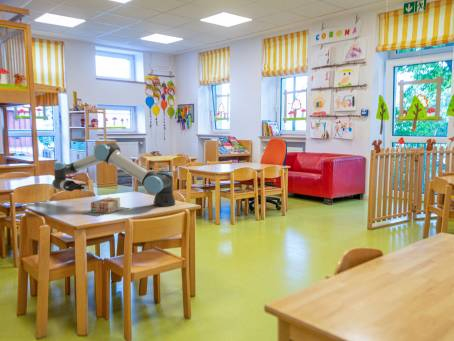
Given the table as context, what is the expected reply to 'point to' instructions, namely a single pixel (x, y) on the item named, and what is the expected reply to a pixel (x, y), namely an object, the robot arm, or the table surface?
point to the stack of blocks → (105, 205)
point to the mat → (104, 213)
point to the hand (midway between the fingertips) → (88, 188)
